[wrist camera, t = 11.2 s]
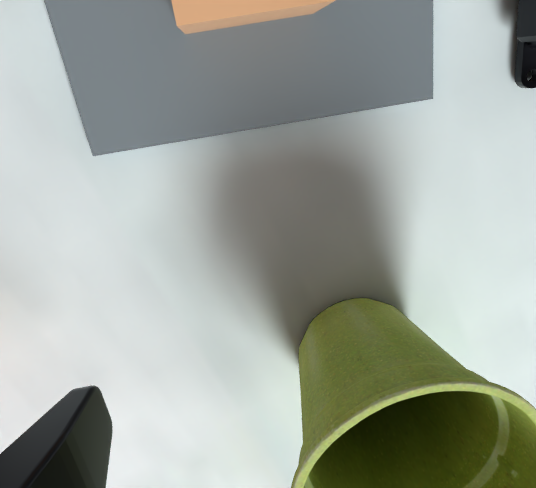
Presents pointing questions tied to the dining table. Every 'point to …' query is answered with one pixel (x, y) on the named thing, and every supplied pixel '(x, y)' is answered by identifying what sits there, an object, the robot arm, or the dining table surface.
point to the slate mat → (235, 67)
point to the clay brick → (238, 12)
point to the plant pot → (403, 410)
